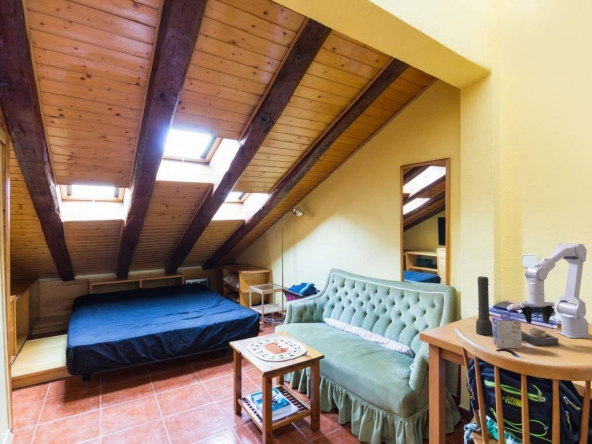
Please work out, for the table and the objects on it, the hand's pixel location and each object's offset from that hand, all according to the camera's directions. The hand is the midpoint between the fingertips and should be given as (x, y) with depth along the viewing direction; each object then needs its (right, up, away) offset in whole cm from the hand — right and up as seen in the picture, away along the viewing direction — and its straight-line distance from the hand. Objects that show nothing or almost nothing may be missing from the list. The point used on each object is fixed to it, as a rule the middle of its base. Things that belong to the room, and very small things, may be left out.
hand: (537, 322), depth 145 cm
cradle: (0, -9, 0) cm, 9 cm away
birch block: (0, -8, 0) cm, 8 cm away
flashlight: (-18, -9, +11) cm, 23 cm away
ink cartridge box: (-17, -9, -5) cm, 20 cm away
